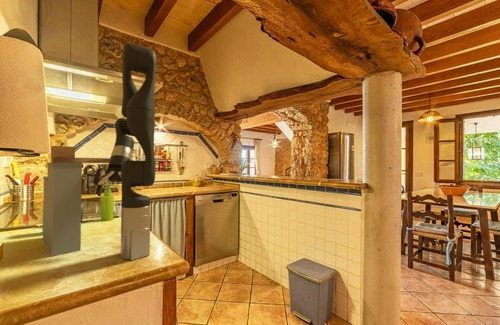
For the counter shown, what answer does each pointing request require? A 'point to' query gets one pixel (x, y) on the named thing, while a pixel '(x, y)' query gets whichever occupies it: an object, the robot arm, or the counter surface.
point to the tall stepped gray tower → (62, 208)
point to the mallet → (71, 156)
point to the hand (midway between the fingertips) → (111, 196)
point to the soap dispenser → (107, 204)
